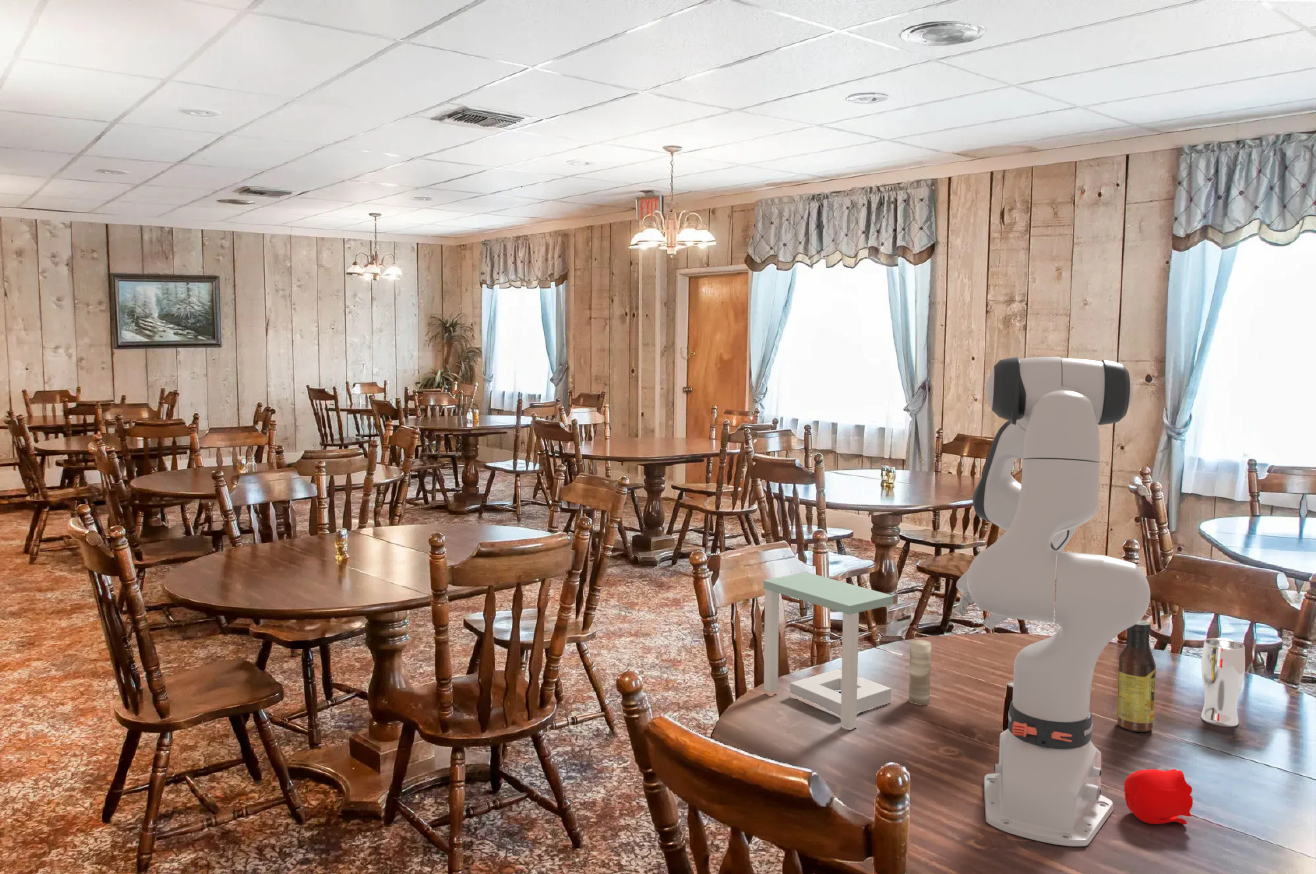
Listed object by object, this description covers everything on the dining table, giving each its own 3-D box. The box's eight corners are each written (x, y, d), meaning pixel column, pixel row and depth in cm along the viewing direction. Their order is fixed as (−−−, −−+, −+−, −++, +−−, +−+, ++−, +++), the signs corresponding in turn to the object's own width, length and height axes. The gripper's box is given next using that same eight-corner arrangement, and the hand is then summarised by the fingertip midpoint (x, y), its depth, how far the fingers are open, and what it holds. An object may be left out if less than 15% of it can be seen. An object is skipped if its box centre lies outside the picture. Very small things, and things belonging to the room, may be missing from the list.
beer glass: (1229, 714, 180) (1234, 638, 178) (1248, 728, 173) (1253, 649, 171) (1191, 712, 180) (1195, 637, 179) (1209, 727, 173) (1213, 648, 172)
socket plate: (838, 682, 196) (838, 668, 196) (890, 703, 185) (891, 688, 185) (790, 697, 188) (790, 682, 188) (841, 719, 177) (842, 704, 176)
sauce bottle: (1158, 735, 170) (1164, 628, 168) (1121, 732, 171) (1126, 626, 169) (1147, 721, 176) (1152, 618, 174) (1111, 718, 177) (1116, 616, 176)
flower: (1111, 769, 144) (1164, 768, 144) (1120, 823, 142) (1174, 823, 142) (1133, 769, 137) (1189, 769, 137) (1143, 826, 134) (1200, 826, 134)
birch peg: (926, 706, 183) (928, 647, 182) (906, 703, 185) (908, 644, 184) (931, 700, 187) (933, 641, 185) (911, 696, 189) (913, 638, 187)
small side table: (804, 682, 197) (806, 572, 194) (890, 716, 178) (893, 595, 176) (761, 694, 190) (763, 580, 187) (846, 732, 171) (849, 606, 169)
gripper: (975, 548, 198) (933, 596, 197) (1039, 570, 179) (994, 624, 177) (993, 567, 200) (951, 615, 198) (1058, 591, 180) (1013, 645, 179)
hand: (972, 620), depth 187 cm, fingers open, 8 cm apart
